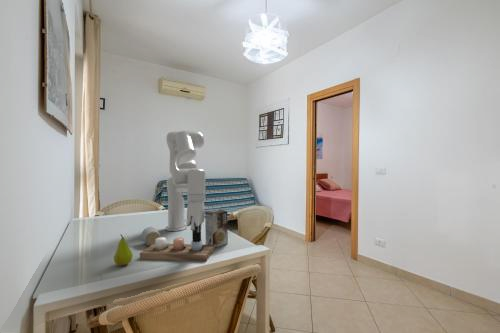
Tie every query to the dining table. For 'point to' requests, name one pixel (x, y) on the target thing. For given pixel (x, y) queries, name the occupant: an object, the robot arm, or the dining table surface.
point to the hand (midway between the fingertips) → (196, 241)
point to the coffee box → (216, 228)
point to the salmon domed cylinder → (178, 243)
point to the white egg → (160, 243)
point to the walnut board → (177, 253)
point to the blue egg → (196, 246)
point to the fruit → (122, 253)
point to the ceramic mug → (150, 235)
